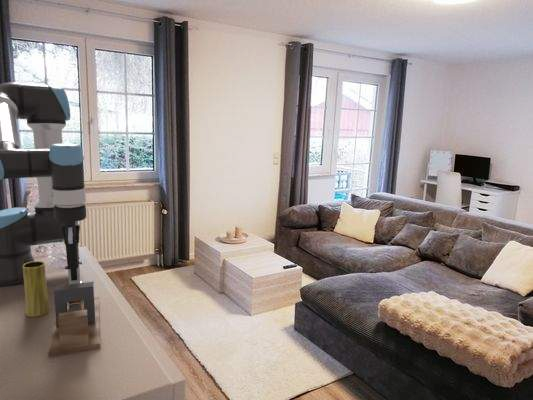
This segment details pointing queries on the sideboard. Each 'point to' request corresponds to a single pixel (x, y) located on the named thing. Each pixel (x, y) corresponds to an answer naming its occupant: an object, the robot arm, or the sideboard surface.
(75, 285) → the collar
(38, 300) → the vase
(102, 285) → the sideboard surface
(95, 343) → the wooden stand
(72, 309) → the light grey bar
